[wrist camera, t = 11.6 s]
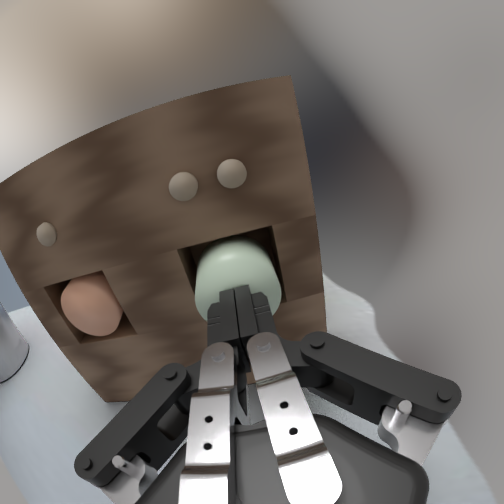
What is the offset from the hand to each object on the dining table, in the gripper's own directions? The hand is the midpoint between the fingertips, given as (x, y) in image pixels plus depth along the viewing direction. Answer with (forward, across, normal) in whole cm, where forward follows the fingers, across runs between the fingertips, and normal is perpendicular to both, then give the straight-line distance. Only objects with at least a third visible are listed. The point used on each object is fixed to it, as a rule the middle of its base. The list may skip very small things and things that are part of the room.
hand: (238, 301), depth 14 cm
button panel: (+4, +5, +10) cm, 12 cm away
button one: (+4, +10, +2) cm, 11 cm away
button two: (+2, 0, +2) cm, 3 cm away
